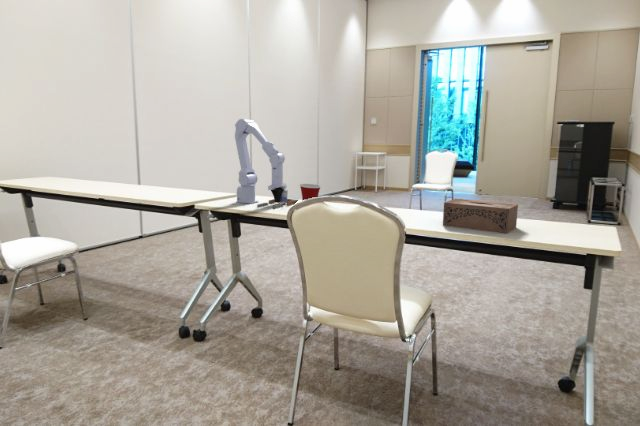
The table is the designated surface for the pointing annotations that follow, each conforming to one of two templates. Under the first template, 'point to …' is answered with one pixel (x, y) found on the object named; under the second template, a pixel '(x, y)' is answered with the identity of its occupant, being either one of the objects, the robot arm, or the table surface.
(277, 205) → the checker cradle
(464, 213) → the tissue box cover
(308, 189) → the plastic cup
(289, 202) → the walnut trough
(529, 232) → the table surface
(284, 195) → the pill bottle
